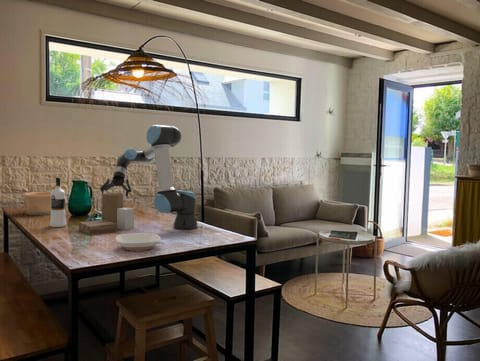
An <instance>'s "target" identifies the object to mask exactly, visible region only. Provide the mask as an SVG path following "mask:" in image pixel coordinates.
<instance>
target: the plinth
mask: <svg viewBox="0 0 480 361" xmlns="http://www.w3.org/2000/svg"><path fill="white" fill-rule="evenodd" d="M78 224H79V225H78V226H79V227H78V229H79V231H80V232H83V233H85V234H88V235H90V236H92V235H98V234H99V235H100V234H106V233H109V234H110V233H116V232H118V228H117V224H116V223H113V222H110V221H107V220H102V219H100V220H89V221H79V223H78Z"/></svg>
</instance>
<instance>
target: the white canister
mask: <svg viewBox="0 0 480 361" xmlns="http://www.w3.org/2000/svg"><path fill="white" fill-rule="evenodd" d="M133 228H135V208H134V207H133V208H131V207H123V208H119V209H117V229H119V230H130V229H133Z"/></svg>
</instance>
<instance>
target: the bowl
mask: <svg viewBox="0 0 480 361" xmlns="http://www.w3.org/2000/svg"><path fill="white" fill-rule="evenodd" d="M161 240H162V239H161V236H159V234H156V233H154V232H151V233H150V232H141V233H140V232H138V233H137V232H135V233H133V232H132V233H121V234H118V235H116V236H115V241H116V242H117V243H118V244H119V245H121V247H123V248H124V249H125V251H128V250H144V251H147V250H146V249H150V250H151V249H153V248H154V247H155V246H156V245H157V244H158V243H159V242H160V241H161Z"/></svg>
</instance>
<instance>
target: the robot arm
mask: <svg viewBox="0 0 480 361" xmlns="http://www.w3.org/2000/svg"><path fill="white" fill-rule="evenodd" d="M181 140H182V133H181V131H180V129H179V128H178V127H176V126H173V125H162V124H153V125H150V127H149V128H148V129H147V131H146V141H147V143H148V144H149V145H150V146H148V147H147V148H146V149H144V150H136V149H135V148H133V147H129V148H127V149H126V150H125V151H124V153H123V154H122V155H119V156H118V158H117V159H116V165H115V169H114V174H113V176H112V179H110V178H107V180H106V181H105V183H104V184H102V186H100V188H99V189H100V190H99V191H100V192H101V195H102V194H105V193H107V191H108V190H109V191H110V189H111V188H113V187H121V188H122V189H123V190H124V194H123V202H125V201H126V199H127V197H128V196H129V193H132V188H131V186H130V182H129V179H128V178H127V179H126V174H127V172H128V167H129V166H130V165H131V163H149V162H153V160H154V159H155V166H156V172H157V173H156V174H157V181H158V187H159V188H158V190H157V191H156V195H155V196H154V198H153V204H154V207H155V209H156V211H158V212H159V213H160V214H169V213H175V214H176V215H175V218H174V221H173V224H172V225H173V228H174V229H178V230H193V229H192V228H194V229H197V228H198V222H197V218H196V200H197V199H196V193H195V192H194V191H190V190H189V191H188V190H179V189H178V190H177V189H176V188H175V187H174V183H173V182H174V181H173V174H172V173H173V172H172V164H171V159H170V158H171V157H170V151H169V150H170V148H174V147H175V146H177V145H178V144H179V143H180V142H181ZM125 184H126V185H125ZM196 227H197V228H196Z"/></svg>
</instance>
